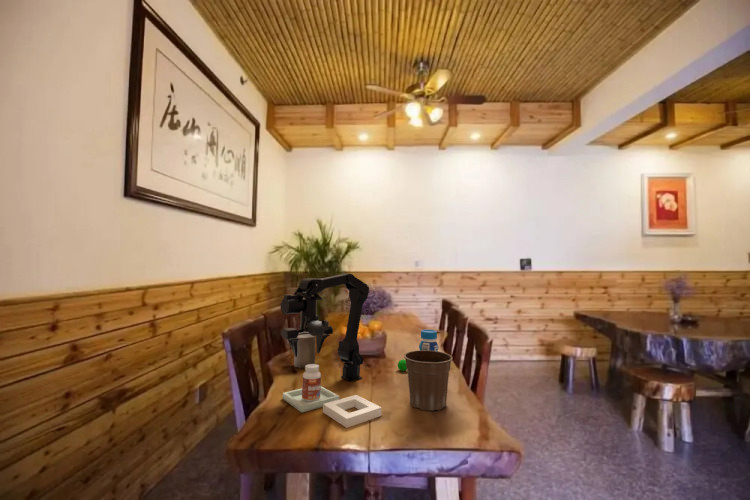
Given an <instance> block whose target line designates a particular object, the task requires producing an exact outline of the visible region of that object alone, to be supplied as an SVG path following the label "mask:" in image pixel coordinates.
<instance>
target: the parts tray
mask: <svg viewBox="0 0 750 500" xmlns="http://www.w3.org/2000/svg"><path fill="white" fill-rule="evenodd" d="M339 399H340V395H338V394H337V393H334V392H333V391H331V390H329V389H328V388H325V387H323V386H322V385H321V389H320V399H319V400H317V401H313V402H307V401H304V400H303V399H302V388H299V389H294V390H289V391H286V392H285V391H284V392H282V400H283V401H285V402H286V403H287V404H289V405H291V407H293V408H295V409H296V410H297V411H298V412H300V413H301V414H302V413H306V412H309V411H313V410H316V409H320V408H323V404H325V403H328V402H332V401H336V400H339Z"/></svg>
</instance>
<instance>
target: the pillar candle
mask: <svg viewBox="0 0 750 500" xmlns="http://www.w3.org/2000/svg"><path fill="white" fill-rule="evenodd" d="M297 338H298V339H299V340H298V342H297V357H295V356H293V359H294V360H293V366H294V367H295V368H297V367H298V368H299V369H305V366H306V365H308V364H316V363H315V362H316V336H312V335H311V334H302V335H298V337H297Z"/></svg>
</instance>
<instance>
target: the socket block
mask: <svg viewBox="0 0 750 500" xmlns="http://www.w3.org/2000/svg"><path fill="white" fill-rule="evenodd" d="M352 408H356V409H357V410H355V411H352V412H348V411H347V410H350V409H352ZM322 413H323V414H324V415H327V416H328V417H329V418H331V419H333V420H334V421H335V422H337V423H338V424H340V425H342V426H343V427H345V428H346V429H347V428H350V427H353V426H356V425H358V424H361V423H364V422H367V421H370V420H373V419H376V418H379V417H381V416H382V407H381V406H380V405H378V404H376V403H374V402H371V401H370V400H367V399H366V398H364V397H362V396H359V395H357V394H354V395H351V396H347V397H344V398H339V400H336V401H332V402H328V403H325V404H323V407H322Z"/></svg>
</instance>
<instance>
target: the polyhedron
mask: <svg viewBox="0 0 750 500" xmlns="http://www.w3.org/2000/svg"><path fill="white" fill-rule="evenodd" d="M397 368H398V370H399V371H401V372H405V371H407V368H406V359H401V360H399V361H398V362H397Z"/></svg>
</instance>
